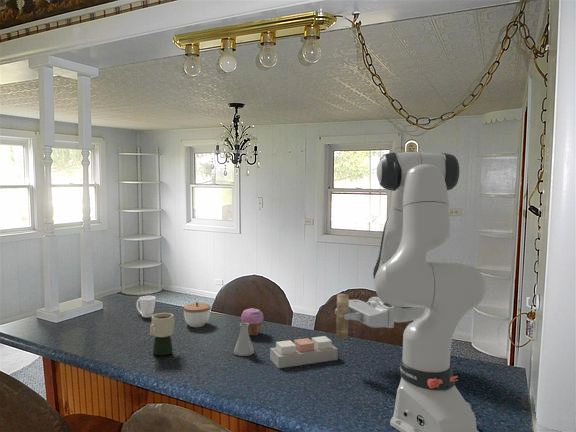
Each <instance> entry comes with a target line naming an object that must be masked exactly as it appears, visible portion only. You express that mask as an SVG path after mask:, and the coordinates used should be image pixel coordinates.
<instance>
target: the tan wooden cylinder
mask: <svg viewBox="0 0 576 432" xmlns="http://www.w3.org/2000/svg"><path fill="white" fill-rule="evenodd" d="M349 297H350V295H349V294H348V293H337V294H336V309H337V315H336V329H335V330H336V331H335V333H336V334H335V336H336V338H338V339H347V338H349V320H345V319H344V318H343V313H348V310H349V300H350V298H349Z"/></svg>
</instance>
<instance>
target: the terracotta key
mask: <svg viewBox="0 0 576 432" xmlns="http://www.w3.org/2000/svg"><path fill="white" fill-rule="evenodd" d="M293 343H294V344H295V345H296V350H297V351H298V352H299V353H301V352H308V351H314V343H313V342H312V339H310V338H308V337H306V338H297V339H294V340H293Z"/></svg>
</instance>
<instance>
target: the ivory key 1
mask: <svg viewBox="0 0 576 432" xmlns="http://www.w3.org/2000/svg"><path fill="white" fill-rule="evenodd" d="M275 347H276V351H277V352H278V353H279V354H280V355H286V354H294V353H296V345H295V344H294V341H291V340H290V339H289V340H282V341H276V342H275Z"/></svg>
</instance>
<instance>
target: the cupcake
mask: <svg viewBox="0 0 576 432" xmlns="http://www.w3.org/2000/svg"><path fill="white" fill-rule="evenodd" d="M240 321H241V323H249V326H248V333H249V336H254V337H256V336H258V335H259V333H260V329H261V325H262V323H263V321H264V313H263V312H262V311H261V310H260V309H257V308H254V307H251V308H246V309H244V310H243V312H242V313H241V316H240Z"/></svg>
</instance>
